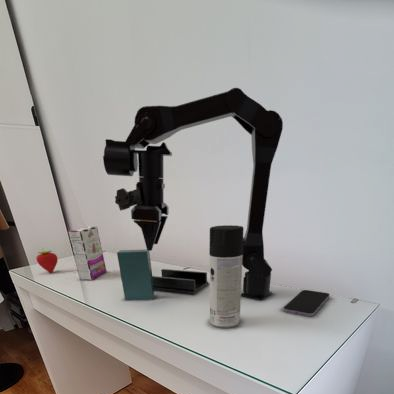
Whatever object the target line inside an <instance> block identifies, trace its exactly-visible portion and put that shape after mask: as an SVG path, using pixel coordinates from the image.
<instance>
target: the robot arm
mask: <svg viewBox="0 0 394 394" xmlns="http://www.w3.org/2000/svg"><path fill="white" fill-rule="evenodd" d="M227 118H232V119H234V120H235V121H236V122H237V124H239V125H240V126H241V127H242V129H244V131H245V132H247V133H248V135H250V136H251V138H250V139H251V154H252V155H251V156H252V166H253V168H252V176H251V186H250V194H249V202H248V203H249V206H248V215H247V224H246V230H245V233H244V235H243V259H242V267H243V268H244V269H245V270H247V271H245V272H244V276H243V277H242V278H243V279H242V291H243V292H241V297H245V298H248V299H249V298H250V299H254V300H259V301H262V300H264V299H266V298H267V297H269V296H271V295H272V294H273V292H272V291H270V290H271V278H272V271H273V269H272V267H271V265H270V263H269V262H268V261H267V260H266V259H265V246H264V245H265V244H264V235H263V229H264V223H265V214H266V207H267V199H268V191H269V184H270V176H271V171H272V170H271V169H272V164H273V161H274V158H275V155H276V152H277V150H278V147H279V143H280V139H281V136H282V133H283V129H284V127H283V126H284V123H283V118H282V117H281V115H280V114H279V112H277V111H275V110H271V109H269V110H267V108H265V107H264V106H263V105H262V104H260V102H258V101H256V100H254V99H253V98H251V97H250V96H248V95H247V94H246V93H245V92H244V91H243V90H242V89H241V88H239V87H232V88H231V89H230V90H227V91H223V92H220V93H217V94H213V95H210V96H207V97H203V98H199V99H196V100H192V101H189V102H185V103H183V104H179V105H172V106H171V105H170V106H169V105H145V106H141V107H140V108H138V110H137V111H136V114H135V116H134V125H133V127H132V129H131V130H130V132H129V134H128V136H127V137H126V139H125V141H122V140H121V141H120V140H114V139H108V138H107V139H105V140H104V141H105V147H104V150H103V156H102V160H103V167H104V170H105V172H106V174H107V176H119V177H133V176H134V175H135V174H134V173H136V172H138V181H137V183H136V184H135V189H133V190H129V191H127V190H126V189H125V188H124V187H123V188H120V189H117V190H116V195H115V196H114V198H115V201H114V203H115V204H116V205H117V206H118V208H119V211H125V210H128V209H130V207H132V208H131V210H130V213H131V214H130V215H131V216H130V217H131V220H133V222H134V224H136V225H137V226H138V227H139V228H140V229H141V234H142V236H143V239H144V243H145V247H146V249H147V250H148V251H149V252H152V251H153V248H154V245H158V244H159V240H160V238H161V236H162V233H163V230H164V227H165V225H166V222H167V219H168V216H169V215H170V214H169V213H170V211H169V210H170V208H169V205H168V204H167V203H166V202H164V189H166V184H165V183H164V157H172V156H173V152H172V151H171V150H170V149H169V147H168V145H167V143H166V142H164V141H165V140H167V139H169V138H171V137H172V136H173V135H175V134H177V133H178V132H180V131H182V130H186V129H191V128H194V127H197V126H201V125H204V124H208V123H211V122H216V121H219V120H223V119H227ZM159 143H161V144H160V145H157V144H159ZM150 144H152V145H150ZM145 148H146V150H143V149H145Z"/></svg>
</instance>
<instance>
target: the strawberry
mask: <svg viewBox="0 0 394 394" xmlns="http://www.w3.org/2000/svg"><path fill="white" fill-rule="evenodd" d="M36 262H37V264H38V265H39V266H40V267H41V268H42V269H43V270H45V271H47V273H49V274H50V273H53V272H54V270H55V268H56V266H57V264H58V256H57V254H56V253H54V252H52V250H44V248H42V250H41V251H38V255H37V256H36Z"/></svg>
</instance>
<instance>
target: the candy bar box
mask: <svg viewBox="0 0 394 394" xmlns="http://www.w3.org/2000/svg"><path fill="white" fill-rule="evenodd" d="M68 237H69V240H70V245H71V248H72V252H73V255H74V259H75V263H76V267H77V271H78V275H79V278H80V280H81V281H93V280H95V279H97V278H98V277H100V276H103V275H104V274H106V273H107V272H108V271H107V267H106V263H105V259H104V257H105V256H104V253H103V248H102V244H101V238H100V234H99V230H98V226H91V225H90V226H83V227H79V228H76V229H72V230H68Z"/></svg>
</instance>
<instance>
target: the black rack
mask: <svg viewBox="0 0 394 394" xmlns="http://www.w3.org/2000/svg"><path fill="white" fill-rule="evenodd" d="M160 271H161V276H159V275H152V277H153V285H154V292H163V293H172V294H181V295H191V296H194V295H196V294H197V293H198V292H200V291H201V290H203V289H204V288H205V287H207V286H208V285H209V280H208V272H206V271H194V270H181V269H168V268H162V269H160Z"/></svg>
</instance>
